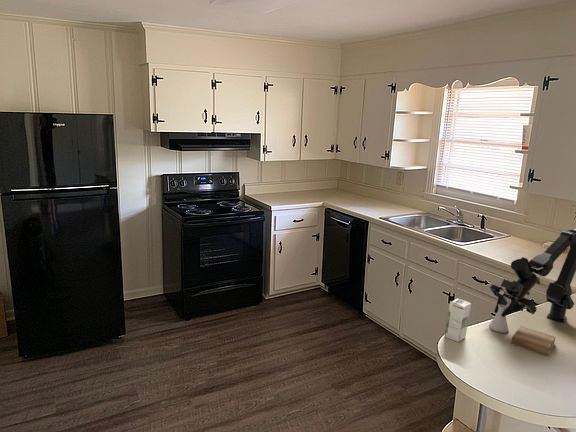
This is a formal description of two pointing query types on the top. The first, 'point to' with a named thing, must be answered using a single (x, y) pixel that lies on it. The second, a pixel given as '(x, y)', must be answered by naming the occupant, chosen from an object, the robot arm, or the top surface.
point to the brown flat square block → (533, 340)
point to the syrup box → (457, 320)
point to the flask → (499, 321)
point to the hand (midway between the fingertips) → (498, 314)
